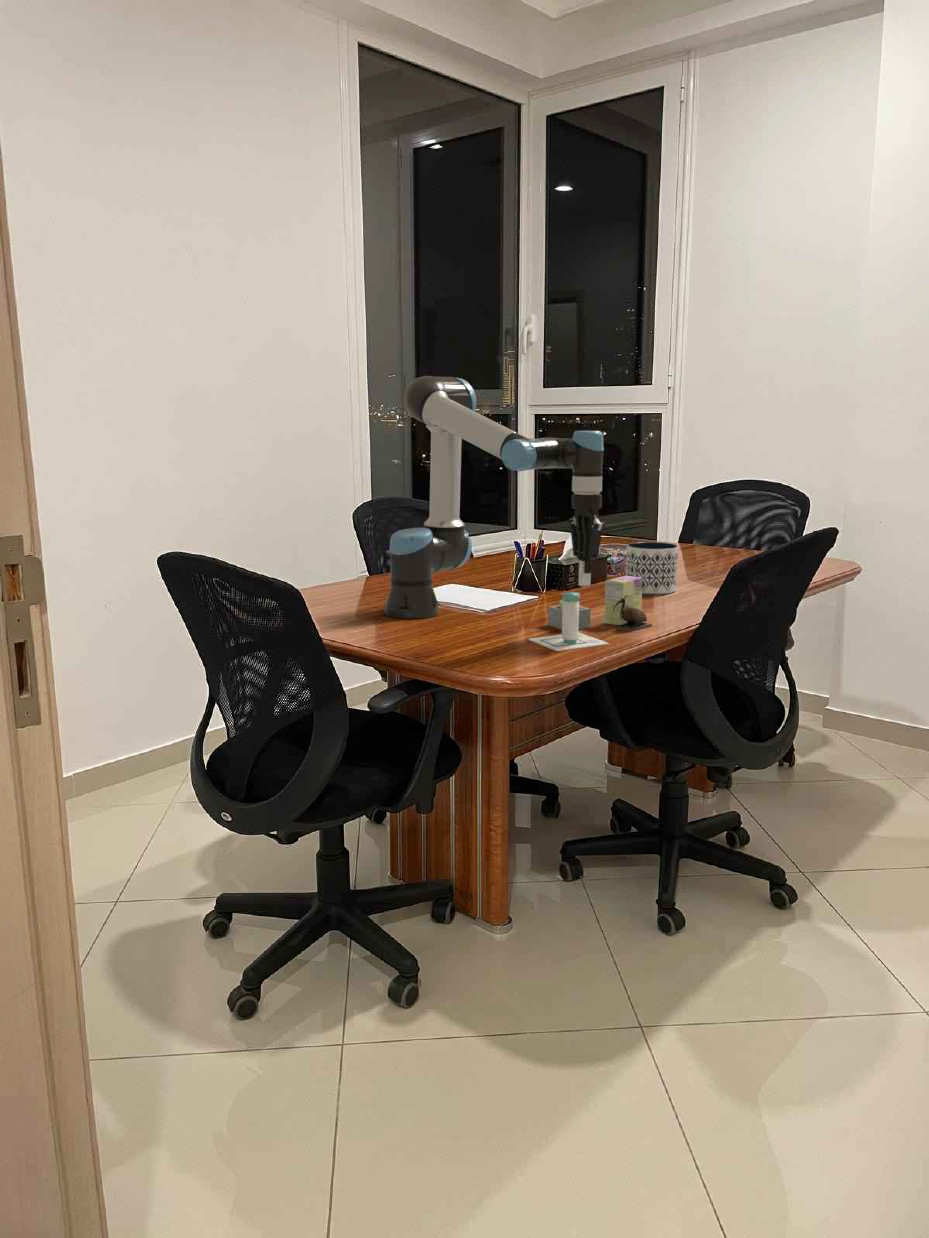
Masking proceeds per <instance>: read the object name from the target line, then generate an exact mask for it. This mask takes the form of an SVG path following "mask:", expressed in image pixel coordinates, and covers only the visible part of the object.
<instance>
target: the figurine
mask: <svg viewBox="0 0 929 1238" xmlns="http://www.w3.org/2000/svg"><path fill="white" fill-rule="evenodd" d="M619 603H622V607H621V612H620V616H621V618H622V619H624V620H625V621H626V622H627V623H625V624H621V626H620V625H617V626H616V627H615V630H616V631H622V632H627V633H632V632H636V631H640V630H643V629H648V628H651V627H652V626H653V624H652V623H648V621H647V620H648V619H647V614H646V613H645V612H644V611H642V610H639V609H637V608H633V607H626V608H624V606H625V599H624V598H622V599H621V600H620V601H618V602H617V603H616V605H618V604H619ZM616 605H615V607H616ZM615 607H614V609H615ZM614 609H613V612H614Z"/></svg>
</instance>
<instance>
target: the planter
mask: <svg viewBox="0 0 929 1238" xmlns="http://www.w3.org/2000/svg"><path fill="white" fill-rule="evenodd" d="M625 551H626V553H625V554H626V555H625V556H626V558H625V576H634V577H642V595H667V594H672V593H674V592H675V591H676V590H677V579H678V578H677V577H678V575H677V574H678V560H679V559H678V556H679V554H678V553H679V546H678V544H675V543H670V542H669V543H668V542H656V541H655V542H654V541H641V542H638V541H637V542H631V543H627V544H626V550H625Z"/></svg>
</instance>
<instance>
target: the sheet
mask: <svg viewBox="0 0 929 1238" xmlns="http://www.w3.org/2000/svg"><path fill="white" fill-rule="evenodd" d="M528 641H530V642H532V643H535V644H538V645H540V646H542V647H545V648H548V649H550V650H552V651H555V652H562V651H563V652H564V651H569V650H578V649H584V648H585V649H586V648H591V647H599V646H607V645H610V643H609V642H608V641H607V642H606V641H605V640H600V639H599V638H595V637H593V636H590V635H588V634H584V633H582V632H579V633H578V639H577V643H574V644H568V643H564V642H563V639H562V634H557V635H556V634H555V635H550V636H549V635H548V636H547V635H546V636H541V637H540V636H539V637H532V638H528Z"/></svg>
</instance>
